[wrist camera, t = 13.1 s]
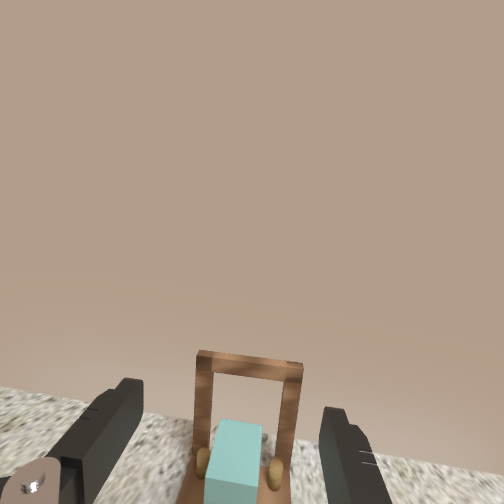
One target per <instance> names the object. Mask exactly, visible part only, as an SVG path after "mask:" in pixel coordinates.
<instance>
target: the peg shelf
mask: <svg viewBox="0 0 504 504" xmlns="http://www.w3.org/2000/svg"><path fill="white" fill-rule="evenodd" d="M303 370H304V369H303V363H298V362H289V361H282V360H275V359H267V358H259V357H251V356H244V355H236V354H228V353H220V352H213V351H205V350H199V352H198V354H197V356H196V379H195V403H194V404H195V405H194V426H193V450H192V457H191V461H190V464H189V467H188V470H187V473H186V476H185V479H184V482H183V485H182V488H181V491H180V494H179V497H178V500H177V503H176V504H204V488H205V476H206V472H207V468H208V465H209V461H210V450H209V443H210V426H211V409H212V392H213V374H214V372H216V373H224V374H231V375H238V376H246V377H253V378H261V379H268V380H275V381H283V382H284V384H283V392H282V401H281V408H280V417H279V424H278V433H277V440H276V449H275V457H274V459H272V460H271V462H270V467H264V466H260V467H259V480H258V491H257V500H256V504H291V492H290V472H289V470H290V463H291V456H292V449H293V442H294V433H295V426H296V420H297V413H298V406H299V399H300V392H301V385H302V378H303Z"/></svg>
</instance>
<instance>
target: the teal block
mask: <svg viewBox="0 0 504 504" xmlns="http://www.w3.org/2000/svg"><path fill="white" fill-rule="evenodd" d="M262 427H263V426H262V425H258V424H252V423H245V422H239V421H233V420H227V419H221V420H220V424H219V427H218V431H217V435H216V439H215V442H214V446H213V450H212V453H211V457H210V461H209V465H208V468H207V472H206V476H205V488H204V504H256V500H257V491H258V480H259V467H260V454H261V440H262Z"/></svg>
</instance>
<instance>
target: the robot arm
mask: <svg viewBox="0 0 504 504" xmlns="http://www.w3.org/2000/svg"><path fill="white" fill-rule="evenodd" d="M142 414H143V381H142V380H139V379H132V378H124V379H123V380H122V381H121V382H120V383H119V385H118V386H117V387H116V388H115V390H114V389H108V390H107V391H105V392H104V393H102V394H101V395H99V396H98V397H96V399H95V400H94V401H93V402H92V403H91V404H90V405H89V407H88V408H87V410H85V411H84V412H83V413H82V415H81V416H80V417H79V419H77V420H76V421H75V423H74V424H73V425H72V426H71V427H70V428H69V430H68V431H67V432H66V433H65V434H64V435H63V436H62V438H61V439H60V440H59V441H58V442H57V443H56V444H55V446H54V447H53V448H52V449H51V450H50V451H49V452H48V454H47V455H46V456H45V457H43V458H39V459H36V460H33V461H31V462H29V463H27V464H26V465H24V466H23V467H21V468H20V469H19V470H17V471H16V472H15V473H14V474H13V475H12V476H9V477H4V478H0V504H93V502H94V500H95V499H96V497H97V495H98V494H99V492H100V490H101V488H102V487H103V485H104V483H105V482H106V480H107V478H108V476H109V475H110V473H111V471H112V470H113V468H114V466H115V464H116V463H117V461H118V459H119V458H120V456H121V454H122V452H123V451H124V449H125V447H126V446H127V444H128V442H129V440H130V439H131V437H132V435H133V434H134V432H135V430H136V428H137V427H138V425H139V423H140V421H141V418H142ZM319 453H320V459H321V464H322V470H323V475H324V481H325V486H326V492H327V498H328V503H329V504H392V501H391V499H390V496H389V494H388V491H387V488H386V486H385V483H384V481H383V478H382V475H381V473H380V470H379V468H378V466H377V463H376V460H375V457H374V455H373V454H372V450H371V447H370V444H369V442H368V439H367V437H366V436H365V435H364V433H363V432H362V431H361V430H360V428H359V427H358V426H357V425H351V424H349V422H348V419H347V416H346V413H345V411H344V409H340V408H333V407H325V408H324V412H323V418H322V423H321V429H320V434H319Z"/></svg>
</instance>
